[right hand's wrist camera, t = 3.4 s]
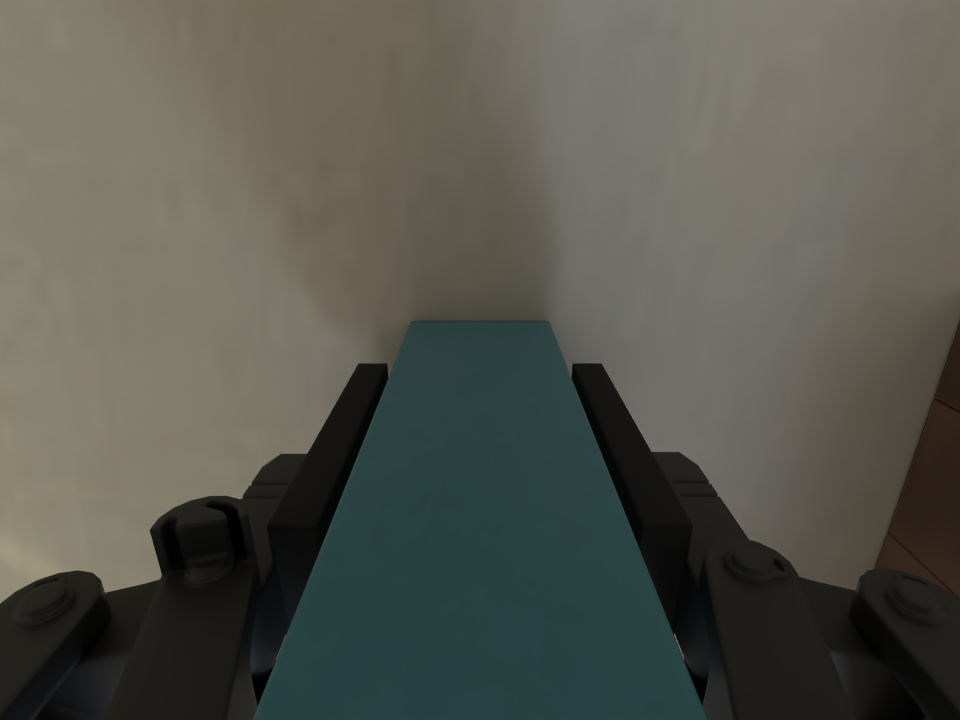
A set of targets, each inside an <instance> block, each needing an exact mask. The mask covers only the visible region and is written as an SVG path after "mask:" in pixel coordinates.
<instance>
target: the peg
mask: <svg viewBox="0 0 960 720" xmlns="http://www.w3.org/2000/svg"><path fill="white" fill-rule="evenodd" d="M253 720H707V717H706V715H705V712H704V710H703V707H702V705H701V702H700V700H699V697H698V695H697V692H696V690H695V687H694V685H693V682H692V680H691V677H690V675H689V672H688V670H687V667H686V665H685V662H684V659H683V657H682V654H681V652H680V649H679V647H678V644H677V642H676V639H675V637H674V634H673V632H672V629H671V627H670V624H669V622H668V619H667V617H666V614H665V612H664V609H663V607H662V604H661V602H660V599H659V597H658V594H657V592H656V589H655V587H654V584H653V582H652V579H651V577H650V574H649V572H648V569H647V567H646V564H645V562H644V559H643V557H642V554H641V552H640V549H639V547H638V544H637V542H636V539H635V537H634V534H633V532H632V529H631V527H630V524H629V522H628V519H627V517H626V514H625V511H624V509H623V506H622V504H621V501H620V499H619V496H618V494H617V491H616V489H615V486H614V484H613V481H612V479H611V476H610V474H609V471H608V469H607V466H606V464H605V461H604V459H603V456H602V454H601V451H600V449H599V446H598V444H597V441H596V439H595V436H594V434H593V431H592V429H591V426H590V424H589V421H588V419H587V416H586V414H585V411H584V409H583V406H582V404H581V401H580V399H579V396H578V394H577V391H576V389H575V386H574V384H573V381H572V379H571V376H570V374H569V371H568V369H567V366H566V364H565V361H564V358H563V356H562V353H561V351H560V348H559V346H558V343H557V341H556V338H555V336H554V333H553V331H552V328H551V326H550V323H549V322H547V321H413V322H411V323H410V326H409V328H408V331H407V333H406V336H405V338H404V341H403V343H402V346H401V348H400V351H399V353H398V356H397V359H396V361H395V364H394V366H393V369H392V371H391V374H390V376H389V379H388V381H387V384H386V386H385V389H384V391H383V394H382V396H381V399H380V401H379V404H378V406H377V409H376V411H375V414H374V416H373V419H372V421H371V424H370V426H369V429H368V431H367V434H366V436H365V439H364V441H363V444H362V446H361V449H360V451H359V454H358V456H357V459H356V461H355V464H354V466H353V469H352V471H351V474H350V476H349V479H348V481H347V484H346V486H345V489H344V491H343V494H342V496H341V499H340V502H339V504H338V507H337V509H336V512H335V514H334V517H333V519H332V522H331V524H330V527H329V529H328V532H327V534H326V537H325V539H324V542H323V544H322V547H321V549H320V552H319V554H318V557H317V559H316V562H315V564H314V567H313V569H312V572H311V574H310V577H309V579H308V582H307V584H306V587H305V589H304V592H303V594H302V597H301V599H300V602H299V604H298V607H297V609H296V612H295V614H294V617H293V619H292V622H291V624H290V627H289V629H288V632H287V634H286V637H285V639H284V642H283V645H282V647H281V650H280V652H279V655H278V657H277V660H276V662H275V665H274V667H273V670H272V672H271V675H270V677H269V680H268V682H267V685H266V687H265V690H264V692H263V695H262V697H261V700H260V702H259V705H258V707H257V710H256V712H255V715H254V717H253Z"/></svg>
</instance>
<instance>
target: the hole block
mask: <svg viewBox="0 0 960 720" xmlns="http://www.w3.org/2000/svg"><path fill="white" fill-rule="evenodd" d="M935 397H936V400H934V401H933V404H932V407H931V410H930V413H929V416H928V419H927V421H926V424H925V427H924V430H923V433H922V436H921V439H920V442H919V445H918V448H917V451H916V453H915V456H914V459H913V462H912V465H911V468H910V471H909V474H908V477H907V480H906V483H905V485H904V488H903V491H902V494H901V497H900V500H899V503H898V506H897V509H896V512H895V515H894V517H893V520H892V523H891V526H890V529H889V532H890V533H888V534H887V536H886V539H885V542H884V545H883V548H882V551H881V554H880V557H879V560H878V562H877V565H876V568H875V569H881V568H885V569H892V570H900V571H904V572H907V573H910V574H913V575H917V576H919V577H922V578H925V579H926V580H928V581H930V582H932V583H934V584H936V585H938V586H940V587H942V588H944V589H945V590H947V591H948V592H949V593H951V594H952V595H953V596H954V597H956V598H957V599H958V600H960V326H959V329H958V332H957V335H956V337H955V340H954V343H953V346H952V349H951V352H950V355H949V358H948V361H947V364H946V367H945V369H944V372H943V375H942V378H941V381H940V384H939V387H938V390H937V393H936V396H935Z"/></svg>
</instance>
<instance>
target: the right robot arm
mask: <svg viewBox="0 0 960 720" xmlns="http://www.w3.org/2000/svg"><path fill="white" fill-rule="evenodd" d="M387 381H388V368H387V364H358V365H357V367H356V369H355V371H354V373H353V374H352V376H351V378H350V380H349V381H348V383H347V385H346V387H345V388H344V390H343V392H342V394H341V396H340V397H339V399H338V401H337V403H336V404H335V406H334V408H333V410H332V411H331V413H330V415H329V417H328V419H327V420H326V422H325V424H324V426H323V427H322V429H321V431H320V433H319V434H318V436H317V438H316V440H315V441H314V443H313V445H312V447H311V449H310V450H309V452H308V454H280V455H279V456H277V457H276V458H275V459H273V460H272V461H270V462H269V463H268V464H266V465H265V466H263V467H262V468H261V470H260V471H259V473H258V474H257V476H256V477H255V479H254V480H253V482H252V486H249V487H248V489H247V490H246V492H245V493H244V495H243V499H240V500H239V499H237V498H233V497H229V496H208V497H204V498H200V499H196V500H191V501H189V502H186V503H184V504H182V505H180V506H177V507H175V508H173V509H171V510H170V511H169V512H167V513H166V514H164V515H163V516H162V517H160V518H159V519H158V520H157V521H156V523H155V524H154V525H153V526H152V528H151V529H150V533H151V536H152V540H153V544H154V547H155V551H156V555H157V558H158V562H159V565H160V569H161V573H162V577H161V579H160V580H157V581H153V582H150V583H146V584H142V585H138V586H133V587H129V588H124V589H120V590H116V591H111V592H107V593H105V591H104V588H103V585H102V582H101V580H100V579H99V578H98V577H97V576H96V575H95V574H93V573H90V572H84V571H71V572H63V573H58V574H55V575H52V576H49V577H45V578H43V579H40V580H37V581H35V582H33V583H31V584H29V585H28V586H26V587H24V588H22V589H20V590H18V591H16V592H15V593H14V594H12V595H11V596H10V597H8V598H7V599H6V600H4V601H3V602H2V603H1V604H0V720H253V717H254V715H255V712H256V710H257V707H258V705H259V702H260V700H261V697H262V695H263V692H264V690H265V687H266V685H267V682H268V680H269V677H270V675H271V672H272V670H273V667H274V665H275V662H276V658H277V655H278V653H279V650H280V648H281V645H282V643H283V640H284V638H285V635H286V634H287V632H288V629H289V627H290V624H291V622H292V619H293V617H294V614H295V612H296V609H297V607H298V604H299V602H300V599H301V597H302V594H303V592H304V589H305V587H306V584H307V582H308V579H309V577H310V574H311V572H312V569H313V567H314V564H315V562H316V559H317V557H318V554H319V552H320V549H321V547H322V544H323V542H324V539H325V537H326V534H327V532H328V529H329V527H330V524H331V522H332V519H333V517H334V514H335V512H336V509H337V507H338V504H339V502H340V499H341V496H342V494H343V491H344V489H345V486H346V484H347V481H348V479H349V476H350V474H351V471H352V469H353V466H354V464H355V461H356V459H357V456H358V454H359V451H360V449H361V446H362V444H363V441H364V439H365V436H366V434H367V431H368V429H369V426H370V424H371V421H372V419H373V416H374V414H375V411H376V409H377V406H378V404H379V401H380V399H381V396H382V394H383V391H384V389H385V386H386V384H387ZM572 381H573V384H574V386H575V389H576V391H577V394H578V396H579V399H580V401H581V404H582V406H583V409H584V411H585V414H586V416H587V419H588V421H589V424H590V426H591V429H592V431H593V434H594V436H595V439H596V441H597V444H598V446H599V449H600V451H601V454H602V456H603V459H604V461H605V464H606V466H607V469H608V471H609V474H610V476H611V479H612V481H613V484H614V486H615V489H616V491H617V494H618V496H619V499H620V501H621V504H622V506H623V509H624V511H625V514H626V517H627V519H628V522H629V524H630V527H631V529H632V532H633V534H634V537H635V539H636V542H637V544H638V547H639V549H640V552H641V554H642V557H643V559H644V562H645V564H646V567H647V569H648V572H649V574H650V577H651V579H652V582H653V584H654V587H655V589H656V592H657V594H658V597H659V599H660V602H661V604H662V607H663V609H664V612H665V614H666V617H667V619H668V622H669V624H670V627H671V629H672V632H673V634H674V633H675V635H676V638H677V640H678V643H679V645H680V648H681V650H682V653H683V655H684V662H685V665H686V667H687V670H688V672H689V675H690V677H691V680H692V682H693V685H694V687H695V690H696V692H697V695H698V697H699V700H700V702H701V705H702V707H703V710H704V712H705V715H706V717H707V720H960V600H958V599H957V598H956V597H954V596H953V595H952V594H951V593H949V592H948V591H947V590H945V589H944V588H942V587H940V586H938V585H936V584H934V583H932V582H930V581H928V580H926V579H925V578H922V577H919V576H917V575H913V574H910V573H907V572H904V571H900V570H892V569H885V568H881V569H875V570H869V571H867V572H866V573H865V574H864V575H862V576H861V577H860V579H859V582H858V585H857V588H856V591H855V590H850V589H846V588H841V587H837V586H832V585H828V584H824V583H819V582H815V581H811V580H808V579H804V578H801V577H799V576H798V574H797V572H796V571H795V569H794V568H793V566H792V565H791V563H790V562H789V561H788V560H787V559H785V558H784V557H783V556H782V555H780V554H779V553H778V552H777V551H775V550H773V549H771V548H769V547H767V546H765V545H763V544H761V543H759V542H755V541H751V540H749V539H748V537H747V536H746V534H745V533H744V532H743V530H742V529H741V527H740V526H739V524H738V523H737V521H736V520H735V519H734V517H733V516H732V514H731V513H730V511H729V510H728V508H727V507H726V505H725V504H724V503H723V501H722V500H721V498H720V497H718V496H717V492H716V491H715V489H714V488H713V487H712V485H711V484H709V481H708V479H707V478H706V476H705V475H704V474H703V472H702V471H701V469H700V468H699V466H698V465H697V464H695V463H694V462H692V461H691V460H690V459H688V458H687V457H685V456H684V455H682V454H681V453H680V452H651V450H650V449H649V447H648V445H647V443H646V441H645V440H644V438H643V436H642V434H641V433H640V431H639V429H638V427H637V426H636V424H635V422H634V420H633V418H632V417H631V415H630V413H629V411H628V410H627V408H626V406H625V404H624V403H623V401H622V399H621V397H620V396H619V394H618V392H617V390H616V388H615V387H614V385H613V383H612V381H611V380H610V378H609V376H608V374H607V373H606V371H605V369H604V367H603V365H602V364H573V368H572Z"/></svg>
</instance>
